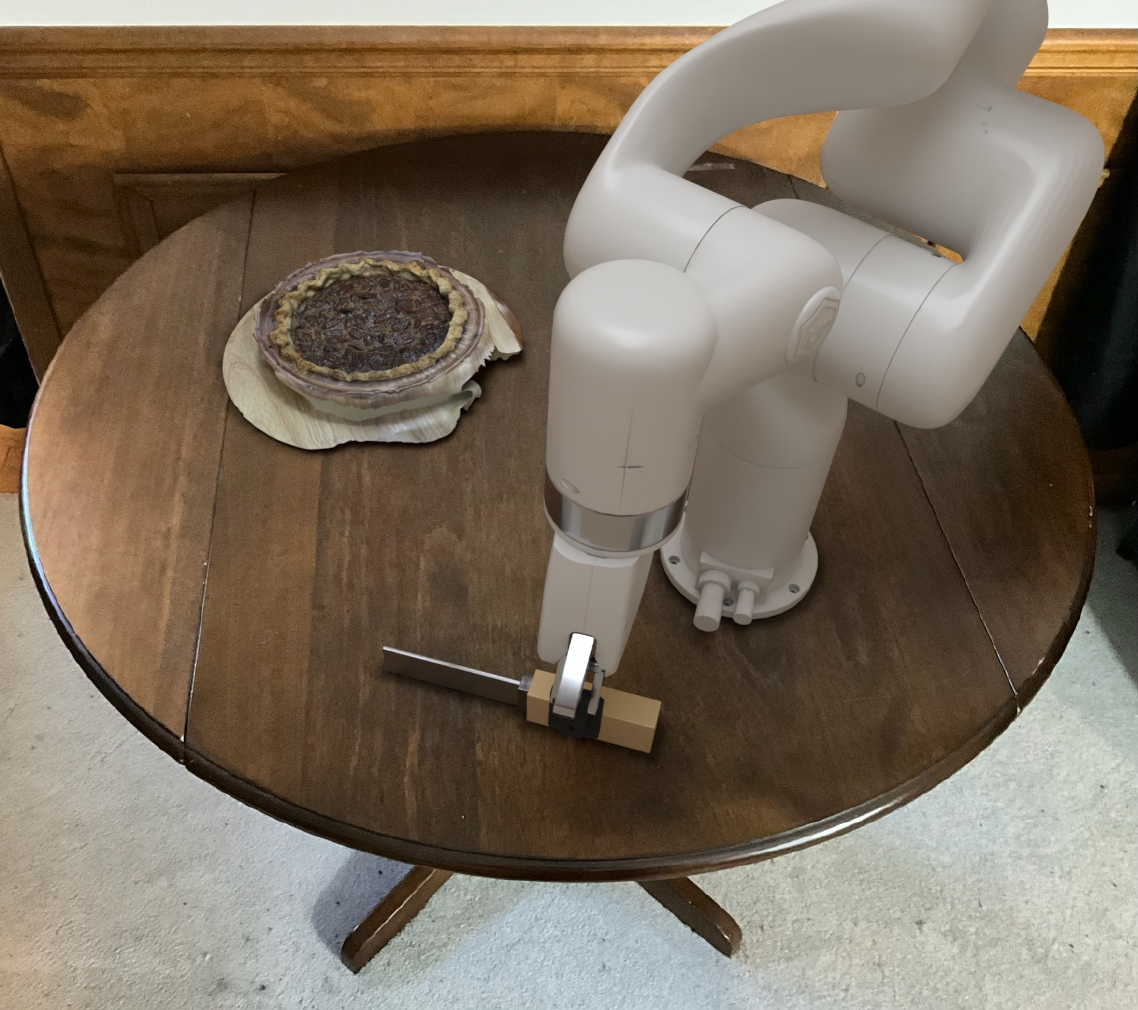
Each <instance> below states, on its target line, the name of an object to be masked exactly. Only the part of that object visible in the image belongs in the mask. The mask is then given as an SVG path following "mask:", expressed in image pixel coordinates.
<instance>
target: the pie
mask: <svg viewBox="0 0 1138 1010" xmlns="http://www.w3.org/2000/svg"><path fill="white" fill-rule="evenodd" d="M273 286H274V287H273ZM273 286H272V287H271V288H272V289H273V288H274V289H273V290H272V291H271V292H269V293H268V294H267V295H265V296H264V297H262V298H261V299H260V300H259V301H257V302H256V303H255V304H254V305H253V306H252V307H251V308H249V310H248V311H247V312H246V314H245V315H244V316H243V317H242V318H241V319H240V320H239V322H238V323H237V325H236V326H235V328H234V329H233V331H232V332H231V334H230V336H229V338H228V340H227V343H226V345H225V348H224V352H223V359H222V376H223V382H224V385H225V389H226V391H227V393H228V395H229V397H230V400H231V402H232V403H233V405H234V406H235V407H237V408H238V410H239V412H240V413H242V414H243V418H245V419H246V420H247V421H248V422H250V424H252V426H254V427H255V428H257V429H259V430H260V431H261V432H263V433H265V434H266V435H268V436H270V437H271V438H273V439H275V440H277V441H280V442H283V443H285V444H288V445H291V446H294V447H297V448H301V449H305V450H320V449H321V450H322V449H330V448H332V449H333V448H334V447H336V446H337V445H339V444H345V443H347V442H350V441H352V442H353V441H357V442H361V443H362V442H366V441H370V442H379V443H380V442H387V443H390V442H402V443H414V444H419V443H424V444H425V443H429V442H430V443H431V442H434V441H436V440H438V439H441V438H445V437H446V436H448V435H449V434H451V433H452V432H453V431H454V429H455V428H456V425H457V424H458V422H457V421H458V420H459V418H460V416H461V409H464V410H465V411H466V412H467V411H468V410H469V408H470V406H472V404H473V402H474V401H475V399H480V398H481V396H482V388H481V386H480V385H479V384H478V382H476V381H475V380H472V379H471V378H472V377H473V375H475V373H477V372H479V368H480V367H481V365H482V366H483V367H486V363H485V359H486V360H487V361H488V362H491V361H497V360H498V359H499V358H501V359H502V360H503V361H506V360H508V359H509V358H510V357H511V356H514V355H518V354H520V353H521V351H522V350H523V349H524V339H523V333H522V328H521V325H520V322H519V321H518V319H517V317H516V315H515V313H514V312H513V311H512V310H511V308H510V307H509V306H508V305H507V304H506V302H504V301H503V300H502V299H501V298H500V297H499V296H498V295H496V294H495V293H493V292H492V291H491V290H490V289H489V288H488V287H487V286H485V285H484V284H483V283H482V282H480V281H478V280H477V279H476V278H473V277H472V276H470V275H468V274H466V273H465V272H462V271H459V270H455V269H453V268H452V267H450V266H449V265H447V266H443V265H440V264H438V260H437V259H436V260H435V259H433V257H431V256H429V255H423V252H422V251H420V252H415V251H413V252H412V251H408V250H402V251H401V250H398V249H393V250H388V251H383V250H378V251H377V250H375V251H370V252H366V251H363V250H357V251H353V252H346V253H336V254H333V255H330V256H327V257H326V258H319V262H318V263H317V262H316V261H313V262H310V261H307V263H306V265H304V267H301V268H297V269H296V270H293V271H292V272H291V273H289V274H287V276H286V278H285V279H284V278H283V280H279V281H278V283H277V284H276V283H274V284H273Z"/></svg>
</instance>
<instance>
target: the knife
mask: <svg viewBox="0 0 1138 1010" xmlns="http://www.w3.org/2000/svg"><path fill="white" fill-rule="evenodd" d="M382 655H383V659H384V665H385V671H386V672H388V673H391V674H392V673H393V674H396V675H399V676H403V677H407V678H411V679H415V680H418V681H422V682H426V683H428V684H429V683H430V684H433V685H438V686H440V687H444V688H448V689H453V690H456V691H460V692H464V693H468V694H471V695H475V696H478V697H482V698H486V699H490V700H493V701H497V702H501V703H505V704H509V705H513V706H516V707H517V712H518V713H522V714H525V715H526V721H527V722H531V723H536V724H538V725H543V726H546V727H550V726H549V725H548V713H549V699H550V691H551V688H552V685H553V684H554V679H555V675H556V673H553V672H549V671H545V670H541V669H538V668H536V669H535V671H534V673H533V676H530V675H526V674H523V675H522V676H521V679H520V680H516V679H513V678H509V677H507V676H502V675H498V674H494V673H490V672H486V671H482V670H480V669H479V670H478V669H474V668H471V667H467V666H463V665H461V664H456V663H452V662H448V661H444V660H440V659H437V658H433V657H428V656H425V655H422V654H417V653H413V652H411V651H407V650H402V649H398V648H395V647H391V646H386V645H383V647H382ZM592 685H593V682H588V681H585V683H584V687H583V688H584V689H588V690H591V689H592ZM601 697H602V698H603V699H605V701H604V708H603V714H602V721H601V728H600V733H599V736H598V738H597V739H596V740H599V741H602V742H605V743H609V744H613V745H617V746H621V747H624V748H627V749H628V748H629V749H631V750H636V751H640V752H643V753H647V754H650V753H651V751H652V746H653V742H654V738H655V734H656V730H657V725H658V723H659V722H658V721H659V716H660V713H661V707H662V701H660V700H658V699H654V698H649V697H646V696H642V695H638V694H634V693H630V692H627V691H622V690H619V689H615V688H611V687H607V686H604V685H603V687H602V692H601ZM550 728H551V727H550Z"/></svg>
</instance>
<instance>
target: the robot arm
mask: <svg viewBox="0 0 1138 1010" xmlns="http://www.w3.org/2000/svg"><path fill="white" fill-rule="evenodd" d="M1049 15H1050V14H1049V5H1048V0H783V1H780V2H778V3H776V4H773V5H771V6H769V7H765V8H764V9H761V10H759V11H757V12H754V13H752V14H750V15H749V16H746V17H744V18H742V19H741V20H739V21H736V22H734V23H733V24H731V25H729V26H726V27H725V28H724V29H721V30H720V31H719V32H717V33H715V34H714V35H712V36H710V37H708V38H707V39H705V40H704V41H702V42H701V43H698V45H696V46H694V47H692V49H690V50H688V51H687V52H686V53H683V54H682V55H681V56H679V57H677V58H676V59H675V60H674V61H672V62H671V63H670V64H669V65H668V66H666V67H665V68H664V69H663V70H661V71H660V72H659V73H658V74H657V75H656V76H655V77H654V78H653V79H652V80H651V81H650V82H649V83H648V84H647V85H646V86H645V87H644V88H643V89H642V91H641V92H640V94H638V96H637V97H636V99H634V102H633V103H632V104H631V106H630V107H629V109H628V110H627V112H626V113H625V115H624V116H623V118H622V120H621V121H620V123H619V124H618V126H617V128H616V129H615V130H614V133H613V134H612V135H611V137H610V139H609V140H608V141H607V143H606V145H605V147H604V149H602V151H601V153H600V155H599V156H598V158H597V160H596V162H595V163H594V165H593V166H592V168H591V170H590V172H589V174H588V175H587V177H586V179H585V181H584V183H583V185H582V186H581V189H580V190H579V192H578V194H577V196H576V199H575V201H574V203H573V206H572V208H571V210H570V213H569V215H568V220H567V222H566V226H565V230H564V235H563V246H562V253H563V262H564V266H565V269H566V272H567V274H568V276H569V279H570V281H569V282H568V283H567V285H566V286H565V287H564V288H563V290H562V291H561V293H560V295H559V297H558V299H557V302H556V304H555V307H554V311H553V316H552V324H551V325H552V326H551V339H550V340H551V341H550V358H549V359H550V363H549V378H548V379H549V381H548V383H549V384H548V399H547V400H548V401H547V403H548V404H547V421H546V423H547V425H546V442H545V443H546V445H545V446H546V447H545V462H544V463H545V464H544V482H543V483H544V485H543V510H544V515H545V517H546V519H547V521H548V524H549V526H550V527H551V528H552V529H553V531H554V534H553V539H552V543H551V548H550V553H549V557H548V562H547V569H546V574H545V580H544V588H543V595H542V602H541V610H540V611H541V612H540V620H539V629H538V637H537V645H536V653H537V656H538V657H539V659H540V661H542V662H545V663H548V664H552V665H555V664H557V666H556V671H555V674H556V675H555V679H554V684H553V685H552V688H551V691H550V699H549V713H548V725H549V726H550V728H552V729H554V730H558V732H559V733H560V734H562V735H564V736H567V737H570V738H573V739H582V738H583V737H584V738H587V739H591V740H598V739H597V738H598V736H599V733H600V728H601V721H602V714H603V708H604V701H605V699H603V698H602V697H601V692H602V687H603V686H604V682H605V678H607V677H610V676H612V675H614V674H615V673H616V672H617V670H618V668H619V665H620V662H621V660H622V657H623V654H624V651H625V649H626V646H627V643H628V640H629V637H630V634H631V632H632V628H633V626H634V623H635V621H636V617H637V613H638V611H639V607H640V605H641V601H642V598H643V595H644V591H645V588H646V584H647V581H648V579H649V578H648V577H649V573H650V569H651V566H652V562H653V557H654V553H655V551H657V550H659V551H660V552H659V554H660V562H661V566H662V568H663V571H664V573H665V574H666V576H667V578H668V580H669V581H670V583H671V585H672V586H673V587H674V588H675V589H676V590H677V591H678V592H679V593H680V594H681V595H682V596H683V597H685V599H687V600H688V601H690V602H691V603H692V604H694V605H696V608H695V613H694V617H693V621H692V623H693V625H694V627H696V628H697V629H699V630H701V631H704V632H711V633H712V632H715V631H717V630H718V629H719V628H720V624H721V619H722V617H726V618H731V619H733V621H734V623H736V624H738V625H742V626H743V625H744V626H746V625H750V624H751V623H752V621H753V620H758V619H767V618H770V617H774V616H777V615H781V614H782V613H784V612H786V611H789V610H790V609H792V608H794V607H795V606H796V605H797V604H798V603H800V602H801V601H802V600H803V599H804V598H805V596H806V595H807V594H808V593H809V591H810V589H811V587H812V585H813V583H814V580H815V577H816V575H817V571H818V567H819V566H818V565H819V564H818V562H819V554H818V549H817V545H816V541H815V540H814V538H813V535H812V533H811V532H810V528H811V526H812V523H813V519H814V517H815V514H816V511H817V507H818V505H819V501H820V500H821V496H822V493H823V490H824V487H825V484H826V481H827V478H828V475H829V472H830V469H831V466H832V463H833V460H834V457H835V455H836V451H837V448H838V445H839V443H840V441H841V437H842V435H843V431H844V428H845V425H846V421H847V415H848V407H849V405H848V404H849V402H848V400H849V399H850V400H853V401H855V402H856V403H859V404H861V405H862V406H865V407H866V408H869V409H871V410H873V411H875V412H877V413H879V414H881V415H883V416H886V417H887V418H889V419H891V420H894V421H895V422H898V423H900V424H903V425H905V426H909V427H912V428H915V429H920V430H933V429H938V428H941V427H944V426H946V425H947V424H949V423H952V421H954V420H955V419H957V417H958V416H960V415H961V414H962V413H963V412H964V410H965V409H967V407H968V406H969V405H970V403H972V401H973V400H974V398H975V397H976V396H977V394H978V393H979V391H981V389H982V388H983V386H984V385H985V382H986V381H987V379H988V378H989V377H990V375H991V373H992V372H993V370H994V368H995V367H996V365H997V364H998V362H999V360H1000V359H1001V357H1002V355H1003V354H1004V352H1005V351H1006V349H1007V348H1008V345H1009V344H1010V342H1011V340H1012V339H1013V337H1014V336H1015V334H1016V332H1017V330H1018V329H1019V328H1020V325H1022V323H1023V321H1024V319H1025V318H1026V317H1027V314H1028V313H1029V311H1030V310H1031V308H1032V306H1033V304H1034V303H1035V301H1036V300H1037V298H1038V297H1039V294H1040V293H1041V291H1042V290H1043V288H1044V287H1045V285H1046V283H1047V282H1048V280H1049V278H1050V277H1051V275H1052V273H1053V271H1054V270H1055V269H1056V267H1057V265H1058V264H1059V262H1060V261H1061V259H1062V257H1063V256H1064V254H1065V252H1066V251H1067V249H1068V247H1069V246H1070V244H1071V243H1072V241H1073V239H1074V237H1075V235H1076V233H1077V232H1078V229H1079V228H1080V226H1081V224H1082V223H1083V220H1084V219H1085V217H1086V215H1087V213H1088V211H1089V209H1090V207H1091V205H1092V204H1093V203H1092V202H1093V201H1094V198H1095V196H1096V193H1097V190H1098V188H1099V185H1100V183H1101V180H1102V175H1103V171H1104V167H1105V161H1106V149H1105V143H1104V142H1105V141H1104V140H1103V137H1102V135H1101V132H1100V130H1099V129H1098V128H1097V126H1096V125H1095V124H1094V123H1093V122H1092V121H1091V120H1089V119H1088V118H1087V117H1086V116H1084V115H1083V114H1080V113H1079V112H1077V111H1075V110H1073V109H1072V108H1069V107H1067V106H1064V105H1062V104H1059V103H1057V102H1054V101H1052V100H1049V99H1046V98H1044V97H1040V96H1038V95H1035V94H1032V93H1029V92H1027V91H1023V90H1021V89H1018V88H1016V87H1017V86H1018V84H1019V82H1020V81H1021V79H1022V78H1023V76H1024V74H1025V72H1026V71H1027V69H1028V68H1029V66H1030V64H1031V62H1032V60H1033V59H1034V57H1035V56H1036V55H1037V54H1038V52H1039V50H1040V48H1041V47H1042V45H1043V43H1044V41H1045V39H1046V35H1047V32H1048V27H1049V18H1050V17H1049ZM830 112H831V113H832V112H837V113H836V115H835V117H834V119H833V121H832V123H831V125H830V127H829V129H828V131H827V134H826V136H825V137H824V139H823V143H822V146H821V149H820V155H819V170H820V174H821V178H822V181H823V182H824V184H825V185H826V187H827V188H828V189H829V191H830V192H832V194H834V195H835V196H836V197H837V198H839V199H840V200H841V201H843V202H844V203H846V204H848V205H849V206H851V207H853V208H855V209H856V210H858V211H860V212H863V213H864V214H866V215H868V216H870V217H872V218H875V219H877V220H878V221H881V222H883V223H886V224H889V225H890V226H892V227H895V228H897V229H899V230H903V231H905V232H907V233H910V234H912V235H914V236H917V237H919V238H922V239H924V240H925V241H928V242H931V243H933V244H935V245H938V246H940V247H942V248H943V249H946V250H949V251H952V252H954V253H956V254H958V255H959V256H960V258H961V260H962V262H959V263H958V262H956V261H953V260H951V259H948V258H947V257H944V256H942V255H940V254H937V253H935V252H933V251H930V250H928V249H925V248H923V247H921V246H918V245H916V244H914V243H912V242H909V241H907V240H905V239H902V238H900V237H897V235H895V234H893V233H891V232H888V231H886V230H885V229H884V230H883V229H882V228H879V227H877V226H874V225H872V224H870V223H867V222H865V221H862V220H861V219H858V218H855V217H853V216H851V215H848V214H846V213H844V212H841V211H839V210H838V209H837V210H836V209H834V208H831V207H828V206H826V205H823V204H819V203H816V202H815V203H814V202H811V201H808V200H803V199H797V198H777V199H772V200H767V201H764V202H762V203H759V204H757V205H755V206H753V207H752V208H749V207H748V206H746V205H744V204H741V203H739V202H737V201H735V200H733V199H731V198H728V197H726V196H724V195H721V194H719V193H717V192H714V191H712V190H710V189H708V188H705V187H703V186H701V185H699V184H696V183H694V182H692V181H690V180H687V179H685V178H683V177H684V176H685V174H686V173H687V172H688V170H689V169H690V168H691V167H692V165H694V163H695V162H696V161H697V160H698V159H699V158H700V157H701V156H702V155H703V154H704V153H705V152H706V151H708V150H709V149H710V148H711V147H713V146H714V145H715V144H717V143H719V142H720V141H721V140H723V139H724V138H726V137H728V136H730V135H731V134H733V133H735V132H737V131H740V130H741V129H744V128H747V127H749V126H752V125H755V124H759V123H762V122H766V121H770V120H773V119H774V120H775V119H780V118H784V117H785V118H786V117H791V116H800V115H811V114H821V113H830ZM594 648H595V653H594V656H593V652H594ZM588 672H589V673H593V674H594V677H593V681H592V684H593V685H592V689H591V690H588V689H584V688H583V687H584V683H585V682H586V678H587V675H588ZM549 726H548V727H549Z"/></svg>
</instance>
